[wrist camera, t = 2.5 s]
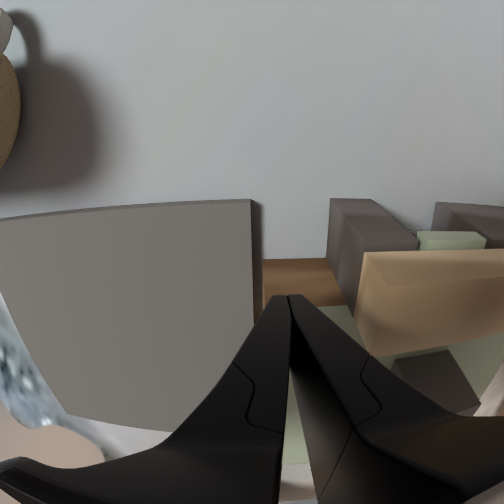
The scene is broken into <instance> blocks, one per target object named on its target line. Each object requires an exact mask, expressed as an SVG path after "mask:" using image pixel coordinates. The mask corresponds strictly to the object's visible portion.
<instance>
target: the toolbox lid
mask: <svg viewBox="0 0 504 504" xmlns="http://www.w3.org/2000/svg"><path fill="white" fill-rule="evenodd" d="M416 238H417V239H418V245H417V250H416V251H431V250H469V249H484V248H485V244H486V239H485V238H484V237H482V236H481V235H479V234H478V233H477V232H466V231H417V237H416ZM317 308H318V309H319V310H321V311H322V312H323V313H324V314H325V315H326V316H328V317H329V318H330V319H331V320H332V321H333V322H334V323H336V324H337V325H338V326H339V327H340V328H341V329H342V330H344V331H345V332H346V333H347V334H348V335H349V336H351V337H352V338H353V339H354V340H355V341H356V342H357V343H359V344H360V345H361V346H362V347H363V348H364V349H365V350H367V349H366V347H365V344H364V342H363V340H362V337H361V335H360V332H359V330H358V328H357V325H356V323H355V320H354V318H352V315H351V313H350V311H349V308H348V306H347V305H343V306H325V307H317ZM375 358H376V359H377V360H378V361H379V362H381V363H382V364H383V365H384V366H385V367H387V368H388V369H389V370H390V371H392V372H393V373H394V374H395V375H397V376H398V377H400V378H401V379H402V380H404V381H405V382H407V383H408V384H409V385H411V386H412V387H414V388H415V389H417V390H418V391H420V392H421V393H423V394H424V395H425V396H427V397H428V398H430V399H431V400H433V401H434V402H436V403H437V404H439V405H440V406H442V407H443V408H445V409H447V410H448V411H451V412H453V413H455V414H458V415H463V416H473V415H474V414H475V412H476V411H477V409H478V408H479V407H480V405H481V402H480V401H479V399H480V397H481V396H482V394H483V393H484V391H485V390H486V388H487V387H488V385H489V384H490V382H491V380H492V379H493V377H494V375H495V374H496V372H497V370H498V369H499V367H500V365H501V364H502V362H503V360H504V332H501V333H498V334H494V335H490V336H486V337H482V338H477V339H473V340H469V341H464V342H460V343H455V344H450V345H445V346H440V347H434V348H429V349H423V350H417V351H411V352H405V353H398V354H391V355H384V356H376V357H375ZM304 463H310V462H309V457H308V452H307V447H306V443H305V438H304V433H303V428H302V424H301V419H300V414H299V410H298V405H297V400H296V396H295V391H294V387H293V382H292V377H291V372H290V373H289V388H288V401H287V414H286V425H285V436H284V447H283V458H282V465H291V464H304Z"/></svg>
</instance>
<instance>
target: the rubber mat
mask: <svg viewBox="0 0 504 504" xmlns="http://www.w3.org/2000/svg"><path fill="white" fill-rule="evenodd" d="M0 291H1V294H2V296H3V298H4V301H5V303H6V306H7V308H8V310H9V312H10V315H11V317H12V319H13V321H14V323H15V326H16V328H17V330H18V332H19V334H20V336H21V338H22V340H23V342H24V344H25V346H26V348H27V349H28V351H29V353H30V355H31V357H32V359H33V360H34V362H35V364H36V366H37V367H38V369H39V371H40V373H41V374H42V376H43V378H44V379H45V381H46V383H47V384H48V386H49V387H50V389H51V391H52V392H53V394H54V395H55V397H56V398H57V400H58V401H59V403H60V404H61V406H62V407H63V409H64V410H65V411H66V413H67V414H70V415H74V416H78V417H83V418H87V419H92V420H96V421H101V422H106V423H111V424H117V425H123V426H129V427H135V428H142V429H149V430H157V431H166V432H174V431H175V430H176V429H177V428H178V427H179V426H180V425H181V424H182V423H183V422H184V420H185V419H186V418H187V417H188V416H189V415H190V414H191V413H192V412H193V411H194V410H195V409H196V407H197V406H198V405H199V404H200V403H201V402H202V401H203V400H204V399H205V397H206V396H207V395H208V394H209V393H210V391H211V390H212V389H213V388H214V387H215V385H216V384H217V382H218V381H219V380H220V378H221V377H222V375H223V374H224V372H225V371H226V369H227V368H228V366H229V364H231V362H232V360H233V358H234V357H235V355H236V354H237V352H238V350H239V349H240V347H241V346H242V344H243V342H244V341H245V339H246V337H247V336H248V334H249V333H250V331H251V329H252V328H253V326H254V312H253V276H252V239H251V203H250V199H232V200H205V201H184V202H166V203H150V204H135V205H122V206H110V207H98V208H87V209H77V210H67V211H58V212H49V213H41V214H32V215H24V216H17V217H9V218H2V219H0Z"/></svg>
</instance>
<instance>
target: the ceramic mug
mask: <svg viewBox="0 0 504 504" xmlns="http://www.w3.org/2000/svg"><path fill="white" fill-rule="evenodd" d="M12 29H13V22H12V19H11V18H10V16H9V15H8V14H7V13H6V12H5V11H4V10H3V9H1V8H0V169H1V168H2V167H3V166H4V164H5V162H6V160H7V159H8V157H9V155H10V153H11V150H12V147H13V144H14V142H15V139H16V136H17V132H18V126H19V119H20V108H21V102H20V89H19V84H18V80H17V76H16V73H15V71H14V68H13V66H12V65H11V63H10V61H9V60H8V58H7V57H6V56H5V55H4V54H3V52H4V51H5V49H6V47H7V45H8V43H9V40H10V36H11V33H12Z"/></svg>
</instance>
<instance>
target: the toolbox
mask: <svg viewBox="0 0 504 504" xmlns="http://www.w3.org/2000/svg"><path fill="white" fill-rule="evenodd" d="M431 231H466V232H477V233H478V234H479V235H481V236H482V237H484V238H485V239H486V244H485V248H484V249H504V207H498V206H487V205H474V204H461V203H446V202H436V205H435V211H434V217H433V223H432V229H431ZM417 245H418V239H417V238H416V237H415V236H413V235H412V234H411V233H410V232H409V231H408V230H407V229H406V228H404V227H403V226H402V225H401V224H400V223H399V222H398V221H396V220H395V219H394V218H393V217H392V216H391V215H389V214H388V213H387V212H386V211H385V210H383V209H382V208H381V207H380V206H379V205H377V204H376V203H375V202H374V201H373V200H371V199H339V198H330V212H329V227H328V240H327V252H326V258H306V259H263V310H264V308H265V306H266V305H267V303H268V301H269V300H270V298H271V296H272V295H282V294H285V295H286V296H288V295H289V294H302V295H303V296H305V297H306V298H307V299H308V300H309V301H310V302H311V303H313V304H314V305H315V306H316V307H325V306H343V305H347V306H348V308H349V311H350V313H351V315H352V318H353V316H354V311H355V306H356V300H357V295H358V289H359V283H360V277H361V271H362V264H363V257H364V252H391V251H416V250H417Z"/></svg>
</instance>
